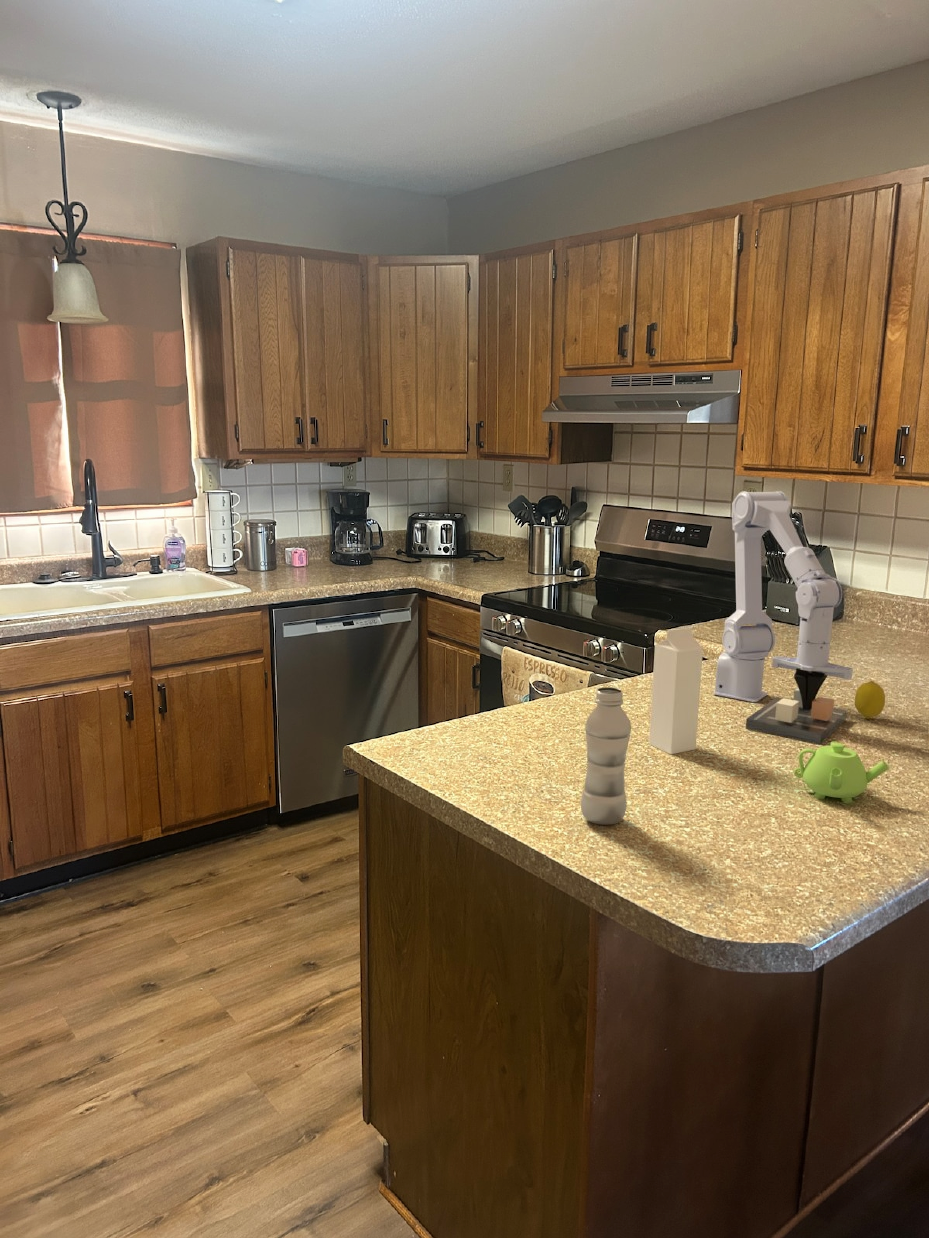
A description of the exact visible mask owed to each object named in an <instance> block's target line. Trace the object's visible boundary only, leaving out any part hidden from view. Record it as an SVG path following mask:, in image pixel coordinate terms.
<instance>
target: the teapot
mask: <svg viewBox="0 0 929 1238" xmlns="http://www.w3.org/2000/svg"><path fill="white" fill-rule="evenodd" d="M845 746H846V745H845V744H843V743H841V742H839V741H831V742H830V745H822V746H820V747H819V748H817V750H815V749H812V748H810V747H809V748H803V749H802V750H801V751H799V753H798V765H799V767H795V769H793V774H794V776H795V777H796V778H798V779H799V778H800V779H801V778H802V779H803V780H802V781H804V783H805V785H806V786H807V787H808V788H809V789H810V790H811V791H812V792H814V794H813V798H815V799H816V800H824V799H825V798H826V797H831V798H837V799H841V801H840V802H842V803H844V804H845V803H846V804H853V803H854V800H853V798H855V797H858V796H860V795H861V794H862V793H864V792H865V790H867V787H868V784H869V783H871V782H872V781H873V780H875V779H877V778H878V777H879V776H880V775H883V774H884V773H885V772H886V771H888V770H890V766H889V765H888V764H887V763H886V762H885V761H884V760H881V761H880V762H878V763H877V764H875V765H874V766H873V767H871V768H870V769H869V770H866V768H865V766H864V763H863V761H862V759H861V757H860V756H859V755H858V753H857V752H856V751H855V750H853V749H851V748H848V747H845ZM806 753H807V754H808V753H809V754H812V755H811V756H810V757H809V759H808V760H807V762H806V763H805V766H804V761H803V760H804V758H803V757H804V754H806ZM798 771H800V773H799V772H798Z"/></svg>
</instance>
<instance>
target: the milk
mask: <svg viewBox="0 0 929 1238" xmlns="http://www.w3.org/2000/svg"><path fill="white" fill-rule="evenodd" d="M693 630H694V629H693V627H686V628H678V629H677V628H676V629H670V630H669V629H668V630H667V632H666V639H664V640H662V641H660V642H657V643H656V644H655V645H654V655H653V657H654V659H653V673H652V674H653V675H652V689H651V690H652V691H651V705H650V706H651V707H650V718H649V719H650V720H649V721H650V723H649V737H648V744H649V746H652V747H654V748H656V749H658V750H660V751H663V752H665V753H667V754H669V755H674V754H678V753H684V752H689V751H693V750H696V749H697V738H698V737H697V735H698V724H699V723H698V722H699V721H698V720H699V708H700V697H701V696H700V693H701V683H702V681H701V680H702V667H703V656H704V655H703V653H704V648H703V647H702V645H700V643H699V642H698V641H697V640H696V638H695V637H694V636H693Z"/></svg>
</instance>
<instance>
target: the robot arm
mask: <svg viewBox="0 0 929 1238" xmlns="http://www.w3.org/2000/svg"><path fill="white" fill-rule="evenodd" d="M791 505H792V504H791V503H790V500H789V498H788V496H787V495H786V493H785V492H783V491H781V490H776V491H745V490H744V491H740V492H739V493H738V494H737V495H736V496H735V498H734V500H733V501H732V503H731V516H732V517H731V519H732V531H734V555H735V556H734V558H735V559H734V561H735V562H734V563H735V564H734V565H735V603H736V604H735V605H736V608H735V609H736V610H735V611H734V612H733V613H732V614H731V615H730V616H729V617H727V618H726V619H725V620H724V628H723V629H724V630H723V633H722V637H721V639H722V640H721V641H722V647H723V649H724V651H725V652H721V653H720V655H719V657H718V658H717V659H718V660H717V663H716V673H715V683H714V684H715V685H714V686H715V687H714V692H713V696H714V695H715V696H720V697H724V698H725V697H726V698H732V699H736V700H740V701H741V700H742V701H746V702H751V703H758V702H759V701H760V700H762V699H763V698H765V697H766V696H767V695H769V692H767V691H763V682H764V672H765V671H764V670H765V659H766V658H768V657H769V654H770V653H771V652H772V651H773V650H774V648H775V645H776V634H775V631H774V629H773V620H772V618H771V617H770V616H768V615H767V613H765V612H764V611H763V596H762V595H763V593H762V592H763V591H762V589H763V588H762V587H763V586H762V585H763V583H762V581H763V580H762V543H761V542H762V540H761V539H762V537H763V535H765V533H766V532H767V531H770V533H771V534H772V535H773V537H774V539H775V540H776V542H777V543H778V544H779V546H780V547H781V549H782V550H783V552H784V553H785V555H786V556H785V557H784V560H783V561H784V566H785V567H786V570H787V571H788V573H789V575H790V576H791V579H792V580H793V583H794V584H795V586H796V588H797V589H796V591H795V600H796V603H797V606H798V608H797V609H798V611H797V613H798V617H800V619H799V620H800V621H799V631H798V641H797V653H796V657H788V656H780V655H779V656H778V655H776V656H773V658H772V662H771V663H772V665H771V667H772V668H775V669H779V668H780V669H781V668H782V669H787V670H793V671H795V673H794V674H793V678H794V680H795V683H796V685H797V688H799V691H800V694H801V699H802V706H803V709H805V710H811V709H812V701H813V700H815V699H816V698H817V695H818V693H819V691H820V689H821V687H822V685H823V683H824V682H825V680H826V679H827V678H828V676H830V677H836V678H839V679H840V678H841V679H843V680H847V681H850V680H851V679H853V669H854V668H853V667H848V666H844V665H841V664H840V665H839V664H836V663H832V662H829V656H830V648H831V647H830V646H831V638H832V628H833V618H834V610H835V609H834V608H837V607H838V606H839V605H840V604H841V602H842V600H843V599H842V598H843V588H842V585H841V584H840V581H839V580H838V579H837V578H836V577H832V576H831V575H830V574H828V573H826V572H825V570H824V568H823V567H822V564H821V563H820V561H819V559H818V557H817V556H816V554H815V552H814V550H813V549H812V548H810V547H807V546H804V544H802V541H801V539H800V537H799V534H798V532H797V530H796V527H795V525H794V523H793V522H792V518H791V517H790V515H791V509H792V508H791V507H792V506H791ZM752 624H754V625H752Z"/></svg>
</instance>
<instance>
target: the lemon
mask: <svg viewBox="0 0 929 1238" xmlns="http://www.w3.org/2000/svg"><path fill="white" fill-rule="evenodd" d="M854 705H855V709H856V710H857V712H858V713H859V714H860V715H861V716H863V717H864V719H866V720H870V719H871V718H873V717H876V716H878V715H880V714H881V713H882V712H883V710H884V709H885V708H884V707H885V705H886V694H885V691H884V689H883V687H882V686H881V685H879V684H878V683H877V682H875V681H873V680H870V681H868V682H865V683H862V684H861V685H859V687H857V690H856V692H855V695H854Z"/></svg>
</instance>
